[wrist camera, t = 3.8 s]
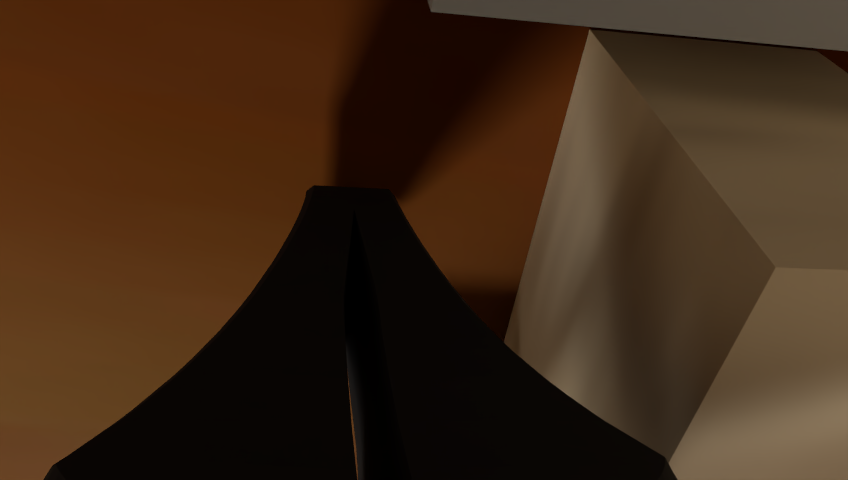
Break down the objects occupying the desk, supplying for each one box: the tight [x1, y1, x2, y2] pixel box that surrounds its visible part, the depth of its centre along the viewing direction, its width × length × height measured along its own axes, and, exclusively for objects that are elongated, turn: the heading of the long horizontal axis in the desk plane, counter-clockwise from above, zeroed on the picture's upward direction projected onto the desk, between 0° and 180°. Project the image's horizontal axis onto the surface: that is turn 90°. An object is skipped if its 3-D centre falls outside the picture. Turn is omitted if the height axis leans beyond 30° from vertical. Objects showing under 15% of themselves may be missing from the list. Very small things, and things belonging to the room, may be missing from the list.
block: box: [504, 30, 848, 480], centre depth 11 cm, size 7×4×6 cm, turn 172°
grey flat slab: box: [427, 0, 848, 51], centre depth 12 cm, size 11×10×3 cm
